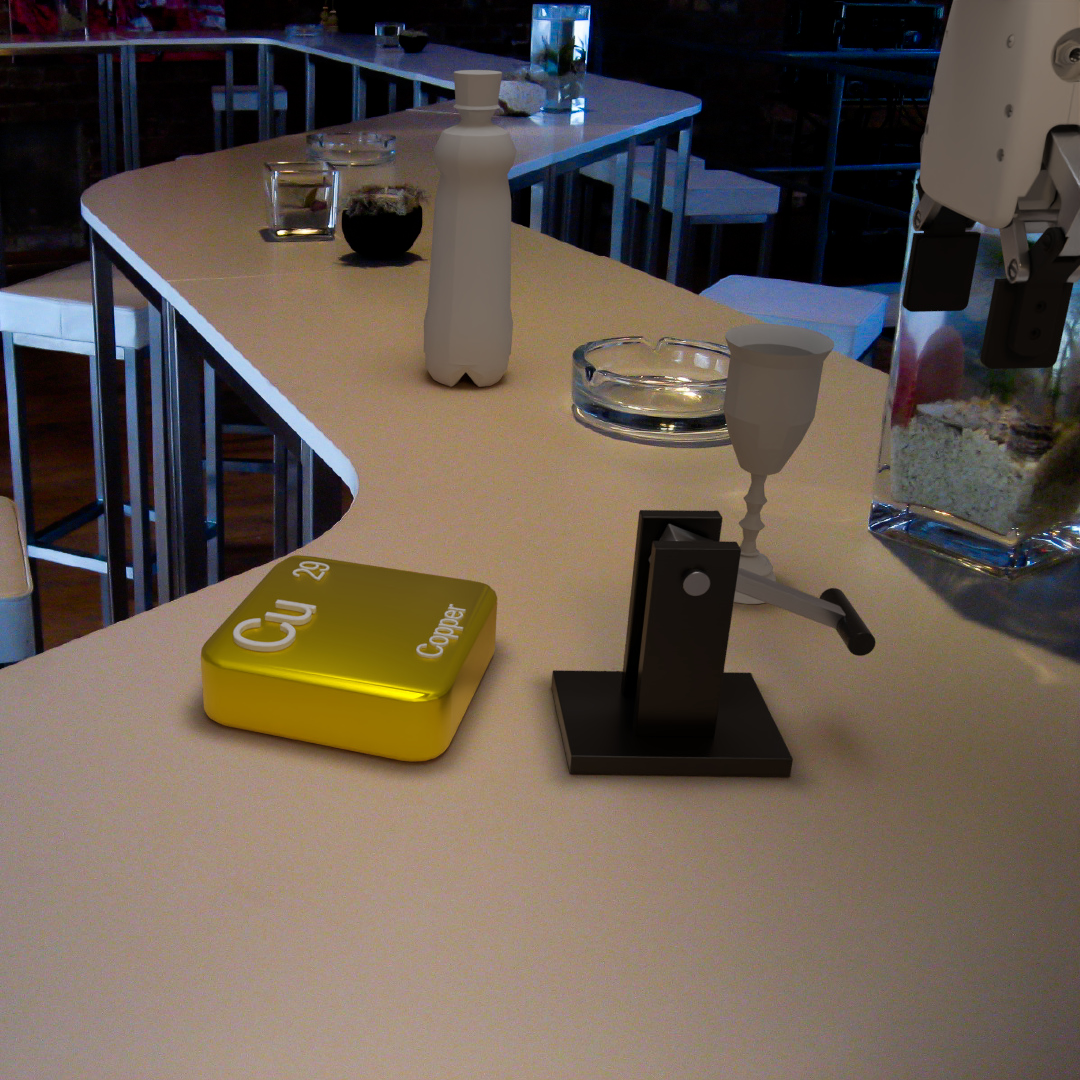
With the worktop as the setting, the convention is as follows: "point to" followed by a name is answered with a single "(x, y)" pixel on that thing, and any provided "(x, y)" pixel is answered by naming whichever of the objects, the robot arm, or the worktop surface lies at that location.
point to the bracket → (673, 671)
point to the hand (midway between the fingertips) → (972, 336)
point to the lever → (798, 600)
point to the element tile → (352, 657)
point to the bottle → (471, 241)
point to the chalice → (769, 413)
